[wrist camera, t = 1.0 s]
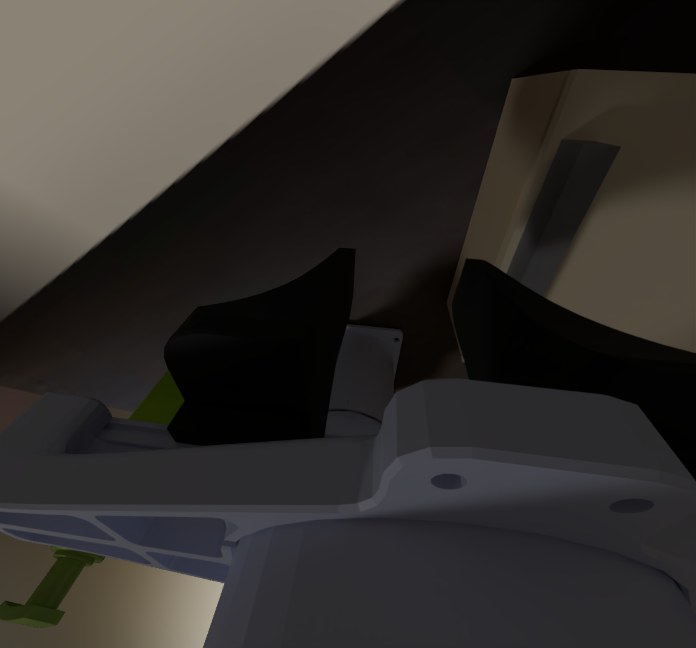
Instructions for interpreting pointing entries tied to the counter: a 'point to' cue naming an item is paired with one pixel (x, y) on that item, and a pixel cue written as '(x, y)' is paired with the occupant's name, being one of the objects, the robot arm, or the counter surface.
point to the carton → (509, 167)
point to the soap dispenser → (71, 562)
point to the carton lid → (615, 206)
